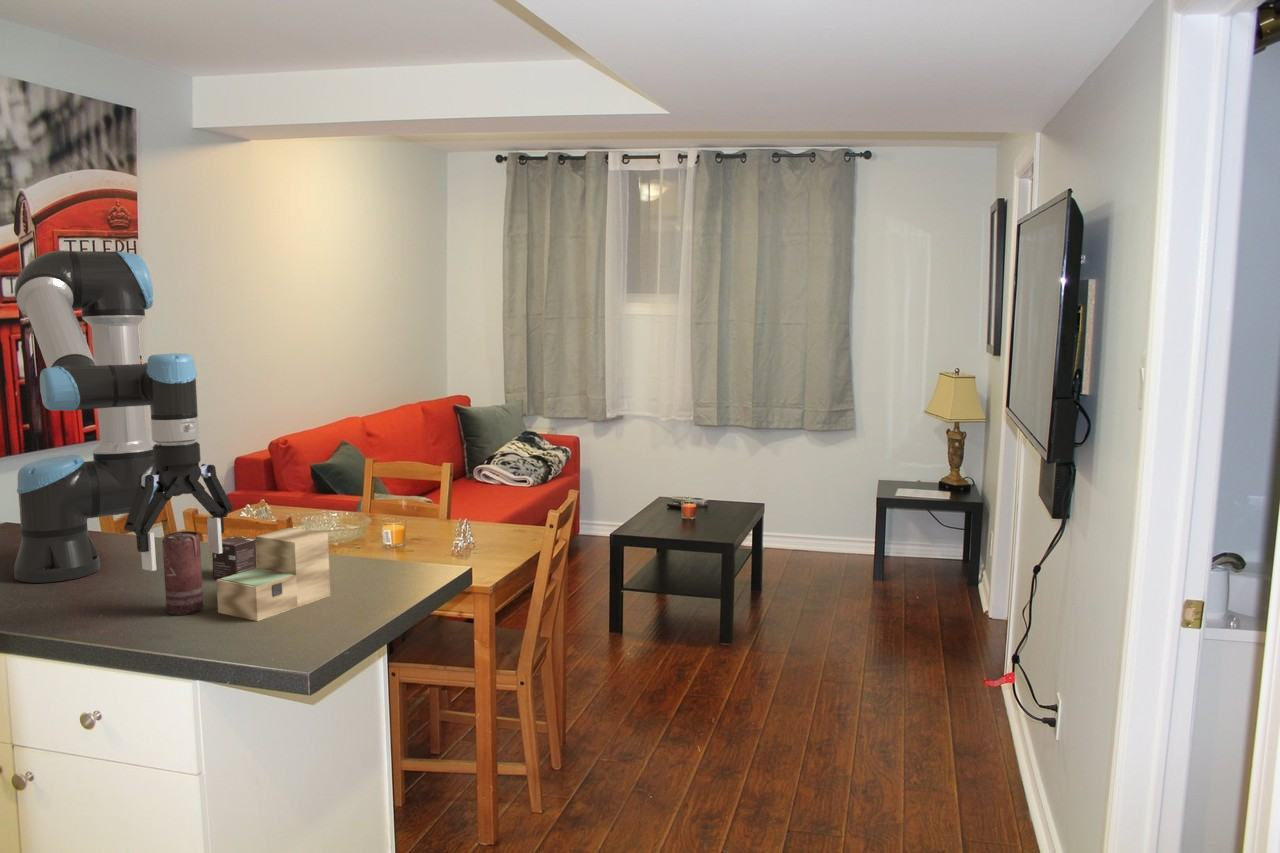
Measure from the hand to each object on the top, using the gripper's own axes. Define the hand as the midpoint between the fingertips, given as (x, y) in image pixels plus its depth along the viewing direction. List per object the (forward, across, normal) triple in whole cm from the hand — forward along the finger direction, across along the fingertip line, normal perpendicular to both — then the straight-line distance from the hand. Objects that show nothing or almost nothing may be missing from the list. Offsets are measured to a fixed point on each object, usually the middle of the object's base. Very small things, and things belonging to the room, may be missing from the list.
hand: (183, 561), depth 183 cm
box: (+9, +20, +12) cm, 25 cm away
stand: (+9, +11, -10) cm, 18 cm away
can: (+9, 0, 0) cm, 9 cm away
